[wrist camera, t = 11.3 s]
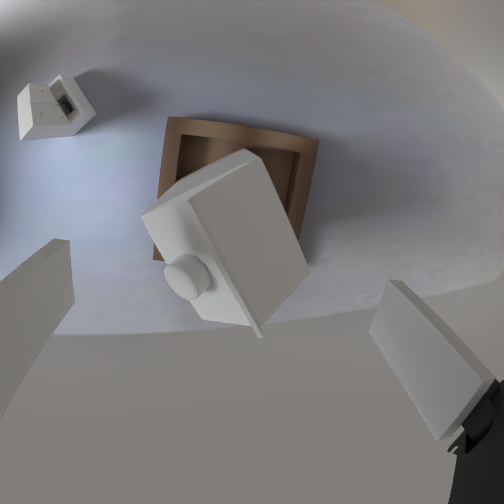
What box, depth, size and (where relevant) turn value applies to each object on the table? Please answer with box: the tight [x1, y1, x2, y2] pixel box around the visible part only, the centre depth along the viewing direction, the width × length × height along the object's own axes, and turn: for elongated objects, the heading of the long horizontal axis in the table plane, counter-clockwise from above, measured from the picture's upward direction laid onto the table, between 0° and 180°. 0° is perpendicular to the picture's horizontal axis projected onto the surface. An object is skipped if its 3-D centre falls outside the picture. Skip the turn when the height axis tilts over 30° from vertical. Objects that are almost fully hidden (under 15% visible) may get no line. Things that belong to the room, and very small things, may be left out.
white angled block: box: [17, 74, 96, 141], centre depth 22 cm, size 4×10×9 cm
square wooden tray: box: [153, 117, 319, 261], centre depth 29 cm, size 14×14×3 cm
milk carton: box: [141, 148, 310, 339], centre depth 21 cm, size 7×7×19 cm
